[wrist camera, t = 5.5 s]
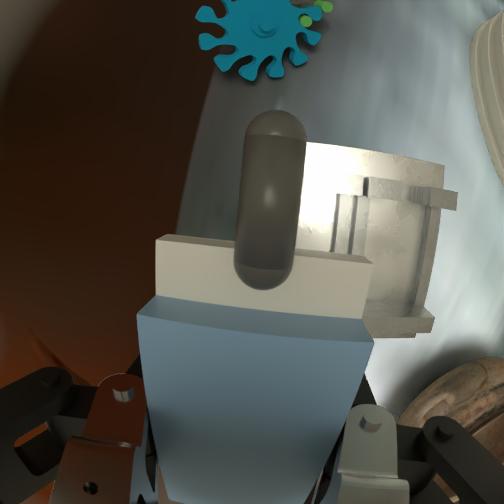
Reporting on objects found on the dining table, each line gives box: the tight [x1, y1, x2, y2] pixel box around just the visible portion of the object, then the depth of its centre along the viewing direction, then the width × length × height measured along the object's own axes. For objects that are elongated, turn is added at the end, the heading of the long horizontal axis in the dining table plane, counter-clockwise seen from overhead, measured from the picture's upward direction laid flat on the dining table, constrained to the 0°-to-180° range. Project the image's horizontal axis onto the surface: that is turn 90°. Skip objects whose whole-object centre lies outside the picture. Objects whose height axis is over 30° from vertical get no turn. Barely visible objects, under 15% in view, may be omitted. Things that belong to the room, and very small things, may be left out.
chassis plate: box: [295, 142, 458, 338], centre depth 21 cm, size 16×17×5 cm
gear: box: [195, 0, 333, 81], centre depth 18 cm, size 11×6×10 cm
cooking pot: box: [396, 358, 504, 502], centre depth 21 cm, size 25×19×12 cm
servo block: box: [137, 110, 374, 504], centre depth 7 cm, size 12×4×5 cm, turn 174°
